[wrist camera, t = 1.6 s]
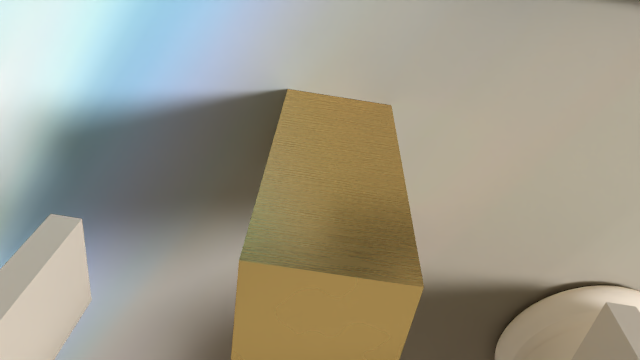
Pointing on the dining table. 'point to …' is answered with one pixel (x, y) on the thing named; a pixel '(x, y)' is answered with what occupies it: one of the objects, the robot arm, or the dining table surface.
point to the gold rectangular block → (329, 239)
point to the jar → (559, 323)
